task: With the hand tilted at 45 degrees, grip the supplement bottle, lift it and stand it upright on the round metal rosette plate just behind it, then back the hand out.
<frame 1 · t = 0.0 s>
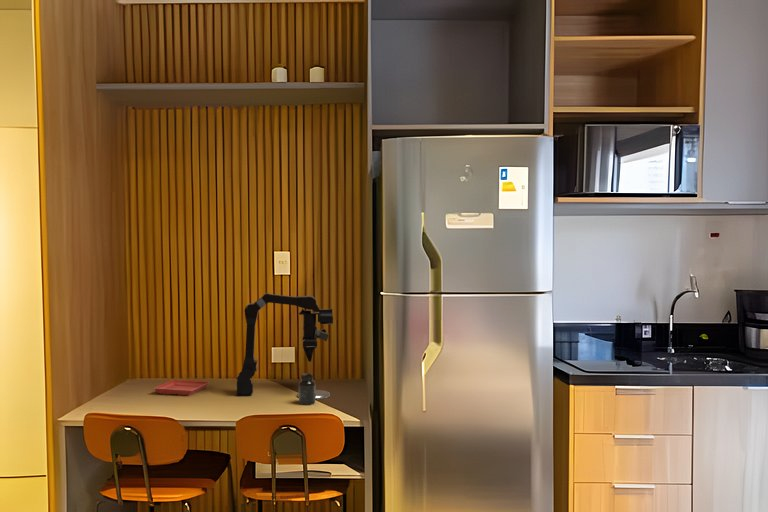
hand: (309, 359, 288), 15 cm above the table, tool pointing down, fingers open, 9 cm apart
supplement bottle: (307, 403, 270), on the table
plant saucer: (182, 392, 291), on the table
rosette plate: (313, 395, 283), on the table
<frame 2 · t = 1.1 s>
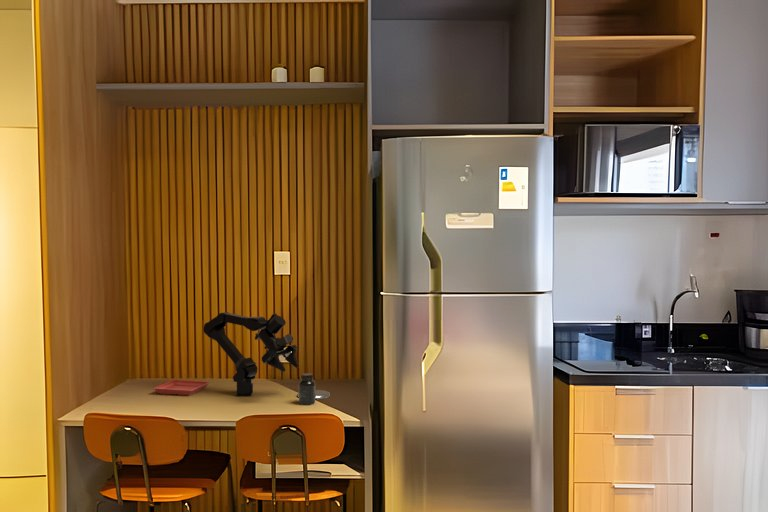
hand: (291, 369, 273), 13 cm above the table, tool tilted 45°, fingers open, 9 cm apart
nothing on the table moved.
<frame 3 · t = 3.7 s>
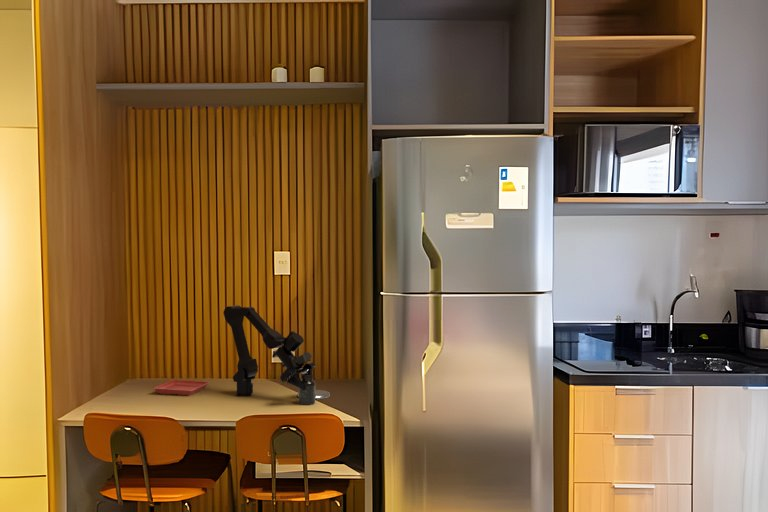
hand: (309, 387, 269), 7 cm above the table, tool tilted 45°, fingers closed on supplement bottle, 7 cm apart
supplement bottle: (307, 403, 270), on the table, touching gripper
everything else where it was.
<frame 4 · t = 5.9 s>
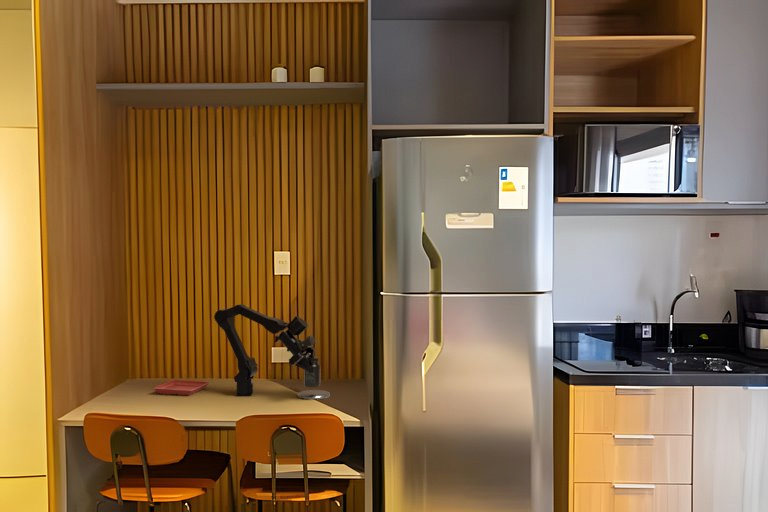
hand: (315, 370, 277), 12 cm above the table, tool tilted 45°, fingers closed on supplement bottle, 7 cm apart
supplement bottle: (312, 386, 278), point 5 cm above the table, touching gripper
everything else where it was.
when the fingers open (8 cm above the table, at t = 7.9 s): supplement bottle stays where it is, resting on rosette plate.
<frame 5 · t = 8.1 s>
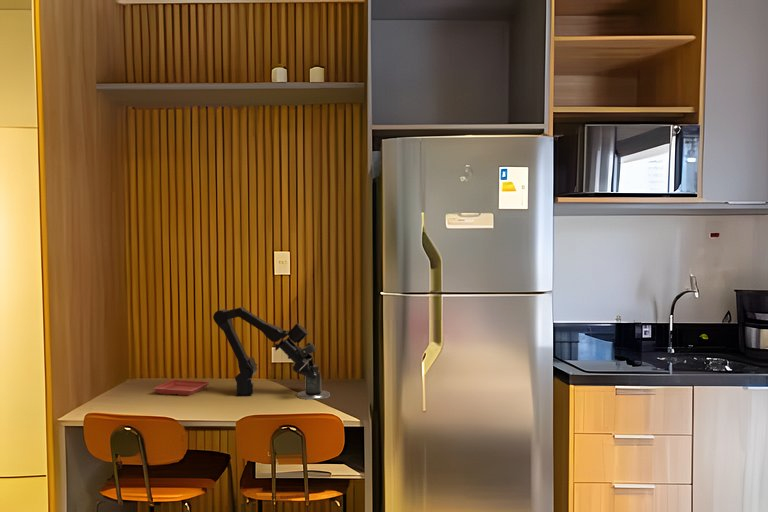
hand: (316, 376, 283), 9 cm above the table, tool tilted 45°, fingers open, 9 cm apart
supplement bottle: (313, 394, 283), point 1 cm above the table, touching rosette plate
everything else where it was.
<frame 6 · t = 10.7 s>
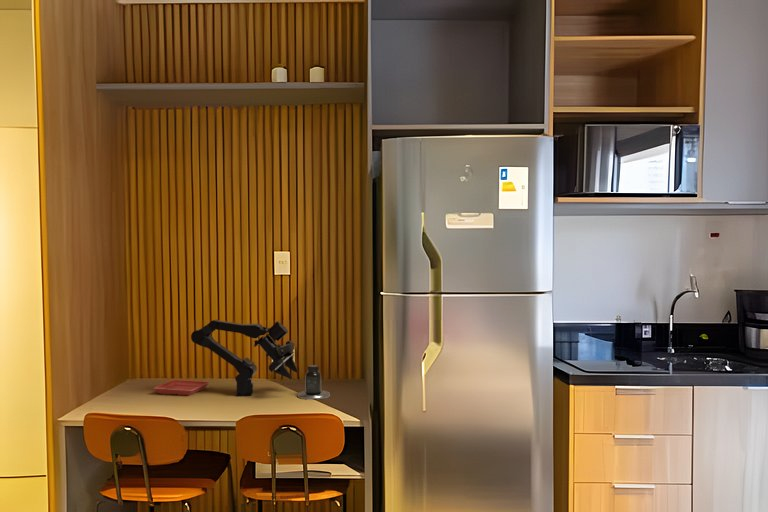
hand: (294, 374, 284), 9 cm above the table, tool tilted 40°, fingers open, 9 cm apart
nothing on the table moved.
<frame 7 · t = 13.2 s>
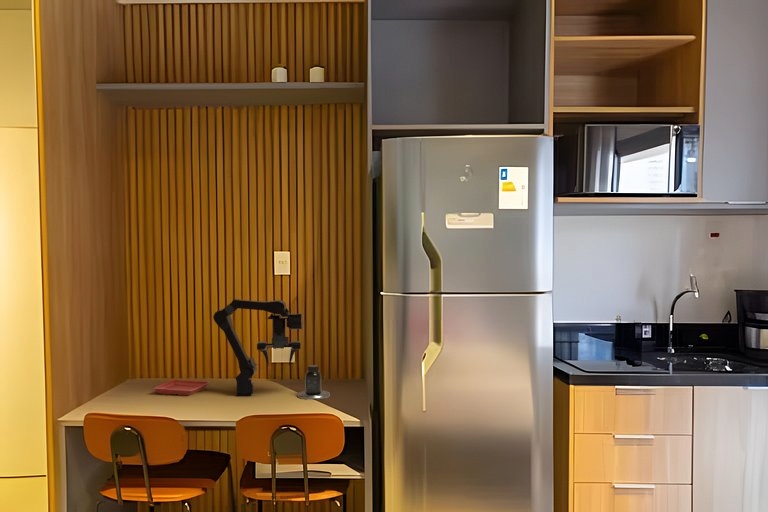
hand: (278, 365, 285), 13 cm above the table, tool pointing down, fingers open, 9 cm apart
nothing on the table moved.
at the end: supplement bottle inside the target area on the rosette plate (0.2 cm from its centre), point 0.8 cm above the rosette plate's base; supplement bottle tilted 0°; the gripper is holding nothing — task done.
